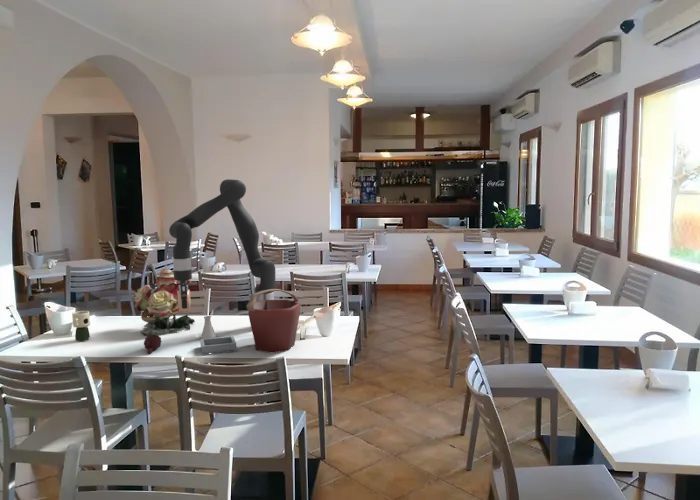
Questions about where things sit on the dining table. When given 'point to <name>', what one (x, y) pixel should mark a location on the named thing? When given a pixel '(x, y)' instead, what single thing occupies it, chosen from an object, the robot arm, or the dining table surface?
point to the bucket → (273, 322)
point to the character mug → (81, 325)
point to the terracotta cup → (181, 302)
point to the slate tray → (218, 345)
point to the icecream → (152, 343)
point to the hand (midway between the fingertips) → (184, 306)
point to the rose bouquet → (161, 306)
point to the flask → (208, 329)
